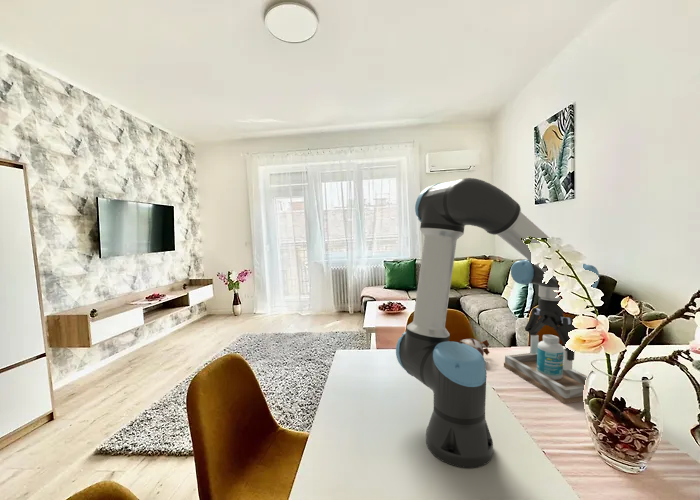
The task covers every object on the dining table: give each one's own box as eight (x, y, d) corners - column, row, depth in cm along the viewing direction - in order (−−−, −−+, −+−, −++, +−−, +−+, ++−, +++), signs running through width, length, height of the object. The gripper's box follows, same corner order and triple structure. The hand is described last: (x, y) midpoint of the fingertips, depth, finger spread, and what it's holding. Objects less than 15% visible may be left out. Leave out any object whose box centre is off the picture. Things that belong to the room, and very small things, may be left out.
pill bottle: (544, 381, 105) (545, 340, 104) (532, 371, 113) (533, 333, 112) (567, 380, 105) (569, 340, 104) (553, 370, 113) (555, 332, 112)
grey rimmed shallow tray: (605, 396, 98) (605, 384, 98) (563, 403, 95) (564, 390, 94) (538, 362, 123) (538, 352, 123) (503, 366, 120) (503, 356, 120)
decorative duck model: (468, 353, 117) (439, 339, 130) (468, 373, 118) (439, 357, 131) (496, 342, 123) (466, 330, 137) (497, 361, 125) (466, 347, 138)
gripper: (597, 306, 96) (594, 375, 97) (532, 290, 120) (531, 346, 122) (576, 308, 94) (573, 378, 96) (514, 291, 118) (513, 348, 120)
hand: (549, 360), depth 109 cm, fingers open, 13 cm apart
